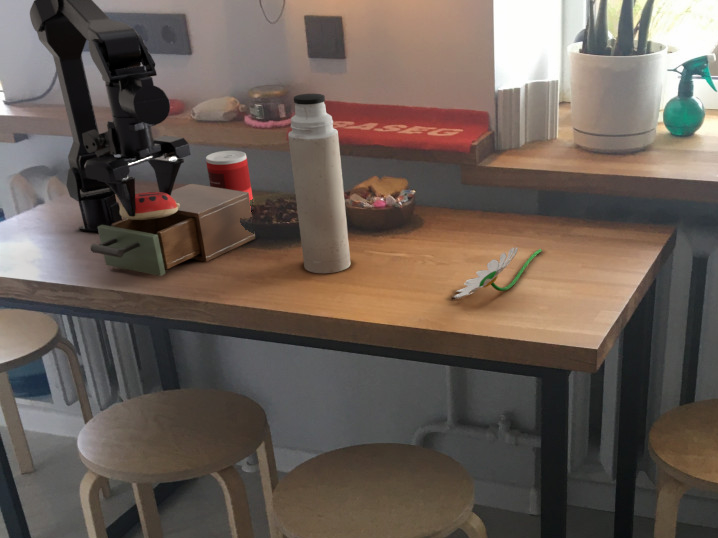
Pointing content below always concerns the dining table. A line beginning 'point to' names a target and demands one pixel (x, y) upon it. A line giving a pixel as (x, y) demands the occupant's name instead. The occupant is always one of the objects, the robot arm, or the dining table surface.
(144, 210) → the ladybug figurine
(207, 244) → the cabinet
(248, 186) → the canned food
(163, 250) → the drawer
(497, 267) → the flower
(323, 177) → the thermos bottle
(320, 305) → the dining table surface
